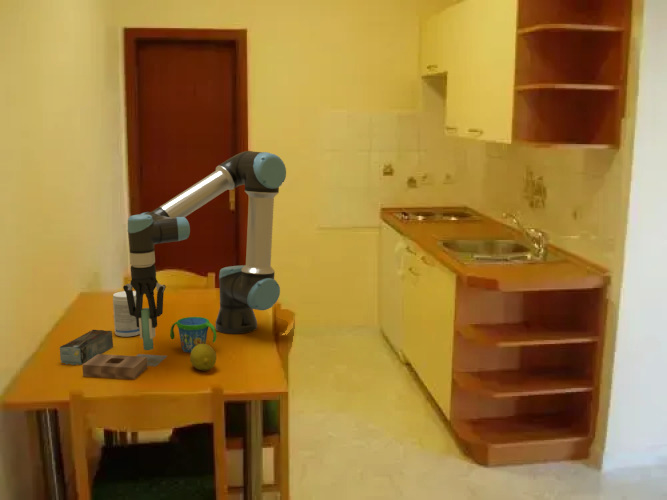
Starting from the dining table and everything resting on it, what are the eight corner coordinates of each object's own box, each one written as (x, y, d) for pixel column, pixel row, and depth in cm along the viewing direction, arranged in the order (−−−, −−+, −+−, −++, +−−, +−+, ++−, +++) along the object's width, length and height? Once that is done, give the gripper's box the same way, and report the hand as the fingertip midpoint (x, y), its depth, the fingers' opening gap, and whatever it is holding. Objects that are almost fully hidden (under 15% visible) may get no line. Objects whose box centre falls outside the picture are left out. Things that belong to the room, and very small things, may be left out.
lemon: (218, 374, 225) (217, 349, 224) (191, 376, 224) (191, 350, 222) (214, 362, 236) (214, 338, 234) (189, 364, 234) (188, 340, 232)
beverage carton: (59, 364, 234) (57, 344, 232) (93, 346, 252) (92, 327, 251) (81, 366, 232) (80, 346, 230) (114, 348, 250) (113, 329, 249)
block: (147, 369, 229) (146, 356, 228) (134, 380, 219) (133, 367, 219) (98, 366, 231) (97, 354, 231) (83, 377, 222) (82, 364, 221)
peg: (154, 347, 237) (152, 307, 235) (151, 350, 234) (148, 310, 232) (146, 346, 238) (143, 307, 235) (142, 349, 235) (139, 310, 232)
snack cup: (222, 347, 250) (221, 318, 248) (207, 357, 240) (206, 327, 238) (180, 343, 255) (179, 314, 253) (164, 352, 245) (163, 322, 243)
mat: (167, 357, 241) (167, 355, 240) (156, 367, 231) (156, 366, 231) (138, 355, 242) (138, 354, 242) (125, 365, 232) (125, 364, 232)
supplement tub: (146, 334, 264) (144, 294, 261) (119, 339, 259) (117, 298, 256) (137, 328, 272) (135, 289, 269) (111, 332, 267) (109, 292, 264)
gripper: (171, 262, 233) (175, 334, 238) (124, 261, 235) (129, 332, 240) (162, 267, 226) (167, 341, 231) (113, 266, 228) (119, 340, 233)
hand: (147, 336), depth 235 cm, fingers closed on peg, 2 cm apart
